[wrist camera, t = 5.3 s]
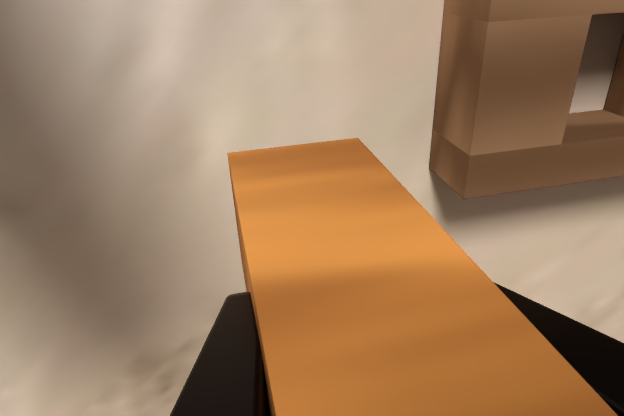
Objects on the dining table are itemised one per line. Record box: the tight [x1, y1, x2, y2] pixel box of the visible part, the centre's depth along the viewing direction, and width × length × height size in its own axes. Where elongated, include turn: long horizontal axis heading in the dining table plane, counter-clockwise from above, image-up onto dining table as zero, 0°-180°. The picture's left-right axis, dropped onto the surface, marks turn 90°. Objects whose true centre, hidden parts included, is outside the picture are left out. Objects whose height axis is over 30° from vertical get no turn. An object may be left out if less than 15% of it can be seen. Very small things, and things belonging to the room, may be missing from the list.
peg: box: [227, 138, 618, 416], centre depth 7 cm, size 3×3×10 cm
